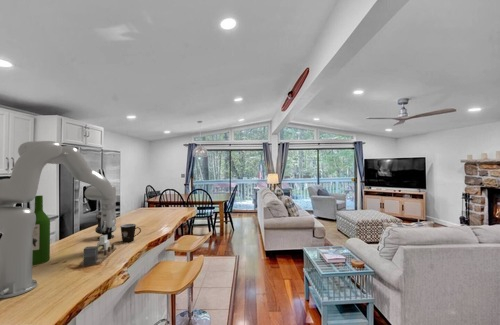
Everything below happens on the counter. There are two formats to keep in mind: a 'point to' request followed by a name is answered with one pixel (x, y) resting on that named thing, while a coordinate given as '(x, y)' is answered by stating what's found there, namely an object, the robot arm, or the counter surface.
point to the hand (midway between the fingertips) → (108, 239)
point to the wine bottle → (41, 234)
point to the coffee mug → (128, 232)
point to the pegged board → (96, 255)
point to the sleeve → (104, 242)
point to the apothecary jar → (99, 229)
